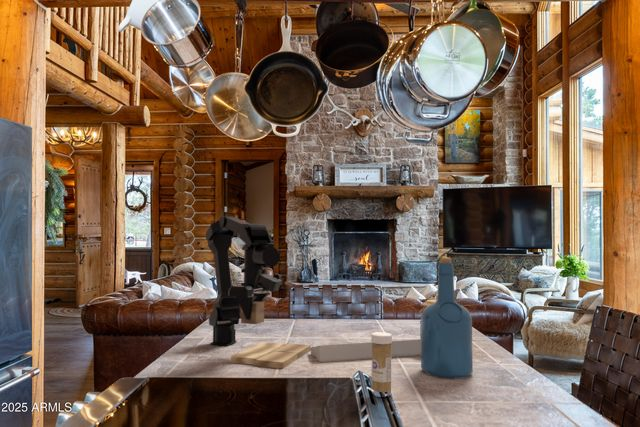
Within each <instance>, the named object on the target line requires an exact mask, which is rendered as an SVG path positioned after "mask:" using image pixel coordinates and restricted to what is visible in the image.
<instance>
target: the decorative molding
mask: <svg viewBox="0 0 640 427" xmlns="http://www.w3.org/2000/svg"><path fill="white" fill-rule="evenodd" d="M310 349H311V351H310V355H312V357H314V358H316V359H317V361H318V362H319V363H328V362H329V363H331V362H343V361H344V362H346V361H357V360H360V361H361V360H369V359H370V360H372V342H371V341H370V342H356V343H341V344H339V343H338V344H325V345H323V344H322V345H316V346H311V348H310ZM416 356H421V340H420V339H408V340H407V339H405V340H392V343H391V358H400V357H402V358H403V357H416Z"/></svg>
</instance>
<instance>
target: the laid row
mask: <svg viewBox="0 0 640 427" xmlns="http://www.w3.org/2000/svg"><path fill="white" fill-rule="evenodd" d="M284 344H285V345H283V346H281V347H279V348H277V349H275V350H273V351H272V352H270V353H268V354H266V355H264V356H262V357H260V358H258V359H256V365H255V366H257V367H265V368H274V369H275V368H276V369H285V368H286V367H288V366H290V365H291V364H292V363H293V362H295V361H297V360H299V359H300V358H301V357H303V356H305V355H306V354H307V353H309V352H311V349H310V348H312V345H311V344H310V345H309V344H301V343H300V344H299V343H289V342H288V343H284Z"/></svg>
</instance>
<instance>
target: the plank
mask: <svg viewBox="0 0 640 427" xmlns="http://www.w3.org/2000/svg"><path fill="white" fill-rule="evenodd" d="M285 344H286V343H279V342H277V343H276V342H266V341H264V342H263V341H261V342H259V343H256V344H255V345H253V346H250V347H248V348H246V349H244V350H242V351H240V352H237V353H236V354H233V355H231V356H230V363H233V364H234V363H236V364H246V365H247V364H248V365H255V366H256V359H258V358H260V357H262V356H264V355H266V354H268V353H270V352H272V351H273V350H275V349H277V348H279V347H281V346H283V345H285Z"/></svg>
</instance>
